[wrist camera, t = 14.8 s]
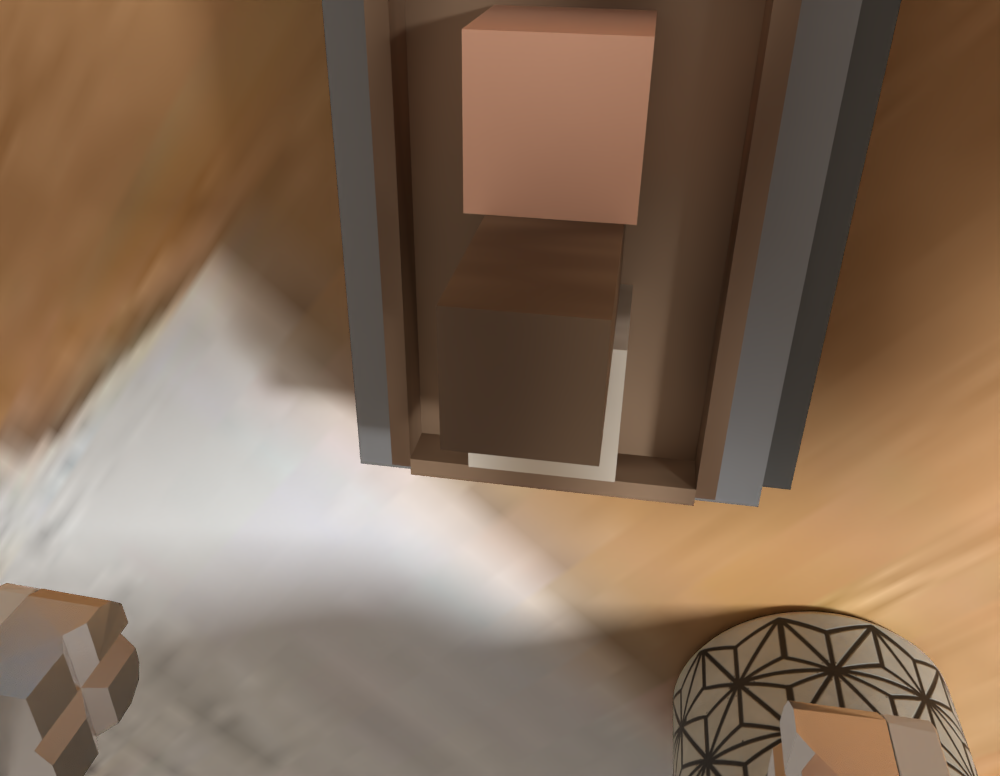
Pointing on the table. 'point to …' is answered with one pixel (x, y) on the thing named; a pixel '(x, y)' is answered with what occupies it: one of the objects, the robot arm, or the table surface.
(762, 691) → the lamp
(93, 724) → the robot arm
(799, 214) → the loading dock
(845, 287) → the table surface
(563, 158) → the terracotta block
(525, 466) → the cream block
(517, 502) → the table surface
